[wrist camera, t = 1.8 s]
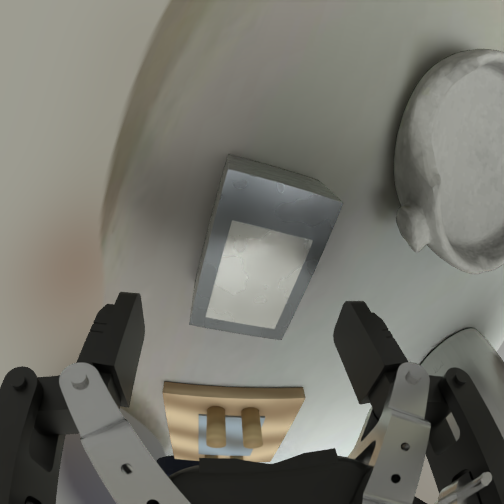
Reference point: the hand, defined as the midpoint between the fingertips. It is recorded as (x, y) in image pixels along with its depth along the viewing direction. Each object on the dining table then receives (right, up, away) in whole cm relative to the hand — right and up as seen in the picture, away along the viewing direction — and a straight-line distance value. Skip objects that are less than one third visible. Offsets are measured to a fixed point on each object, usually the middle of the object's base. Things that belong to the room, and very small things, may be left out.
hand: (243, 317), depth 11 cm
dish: (+15, +9, +4) cm, 18 cm away
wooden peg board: (-2, -16, +16) cm, 22 cm away
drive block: (0, +4, +6) cm, 7 cm away
